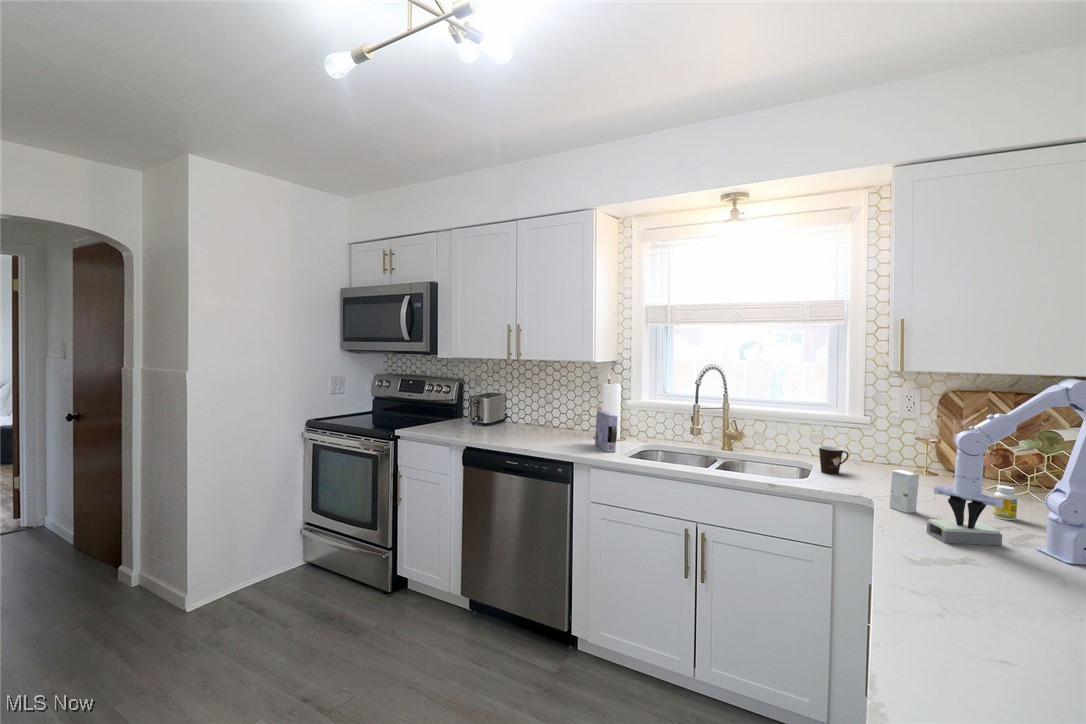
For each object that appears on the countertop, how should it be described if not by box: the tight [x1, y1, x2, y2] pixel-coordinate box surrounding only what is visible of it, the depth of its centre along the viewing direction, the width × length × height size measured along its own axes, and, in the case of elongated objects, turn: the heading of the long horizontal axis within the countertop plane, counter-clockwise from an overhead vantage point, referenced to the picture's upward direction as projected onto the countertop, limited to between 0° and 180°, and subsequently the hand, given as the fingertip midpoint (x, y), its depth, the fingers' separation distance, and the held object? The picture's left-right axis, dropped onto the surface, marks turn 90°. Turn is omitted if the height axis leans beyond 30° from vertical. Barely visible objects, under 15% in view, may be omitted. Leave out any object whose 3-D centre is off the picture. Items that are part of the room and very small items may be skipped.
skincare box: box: [889, 469, 920, 514], centre depth 166 cm, size 6×4×12 cm
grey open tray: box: [926, 521, 1003, 547], centre depth 141 cm, size 8×14×3 cm, turn 85°
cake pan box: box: [594, 409, 618, 453], centre depth 253 cm, size 19×5×18 cm, turn 12°
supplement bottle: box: [992, 484, 1018, 521], centre depth 160 cm, size 5×5×10 cm
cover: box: [928, 518, 1001, 534], centre depth 141 cm, size 7×13×1 cm, turn 85°
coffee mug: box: [818, 445, 849, 475], centre depth 214 cm, size 12×9×10 cm
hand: (965, 527), depth 140 cm, fingers closed on cover, 2 cm apart
